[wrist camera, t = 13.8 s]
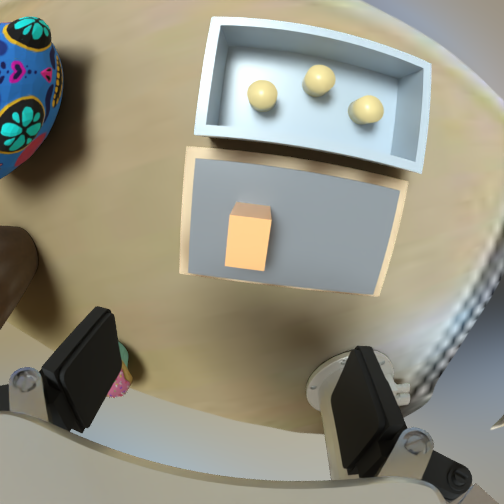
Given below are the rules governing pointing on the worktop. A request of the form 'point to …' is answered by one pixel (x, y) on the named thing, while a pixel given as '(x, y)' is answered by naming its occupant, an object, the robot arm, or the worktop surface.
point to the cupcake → (121, 376)
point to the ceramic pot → (26, 89)
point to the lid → (288, 226)
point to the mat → (291, 164)
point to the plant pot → (15, 267)
